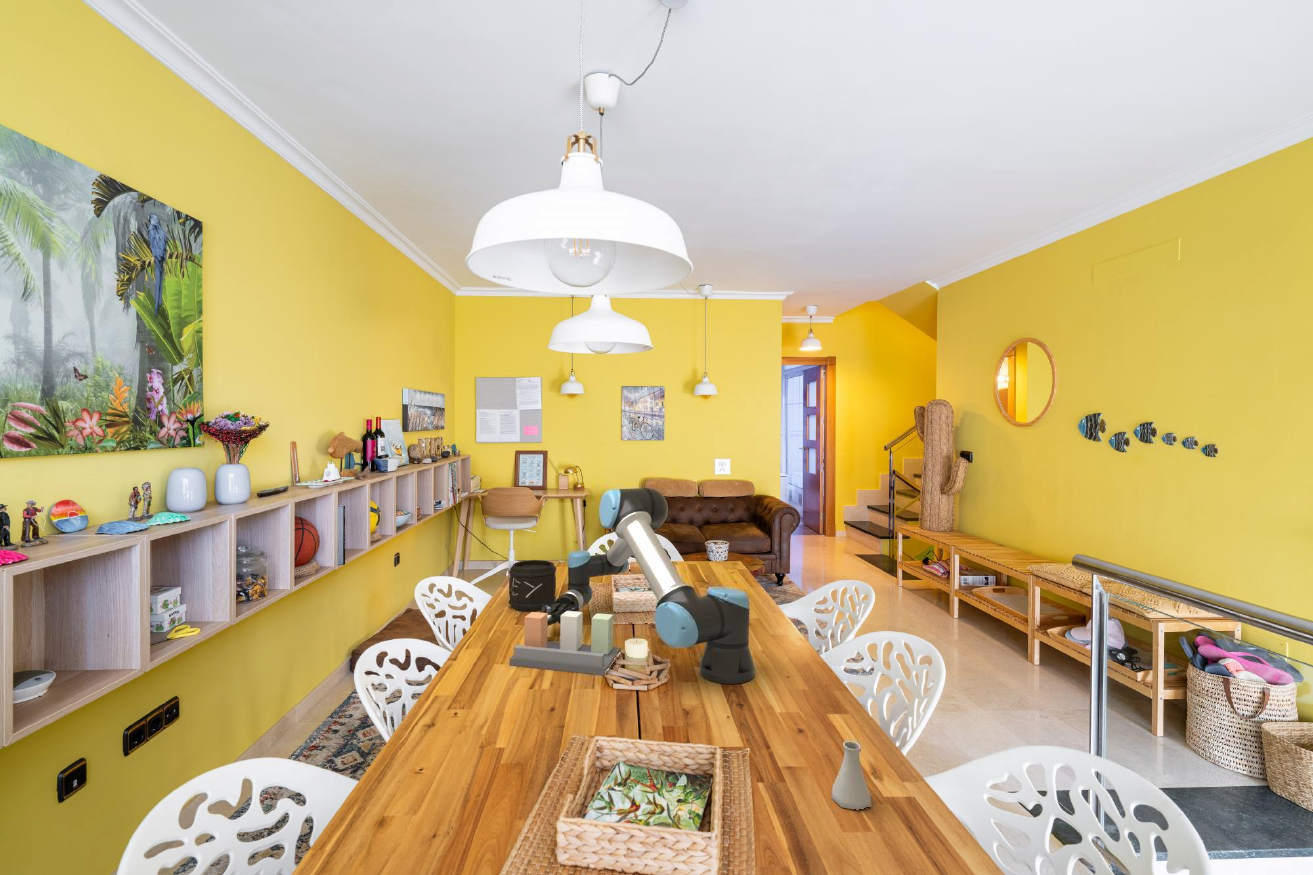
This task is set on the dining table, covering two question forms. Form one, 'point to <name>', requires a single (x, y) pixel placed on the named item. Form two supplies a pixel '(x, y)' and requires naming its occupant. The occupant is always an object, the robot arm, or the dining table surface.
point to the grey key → (571, 630)
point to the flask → (851, 780)
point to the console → (563, 658)
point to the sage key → (602, 633)
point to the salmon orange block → (536, 629)
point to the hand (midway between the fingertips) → (540, 625)
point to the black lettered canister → (532, 585)
